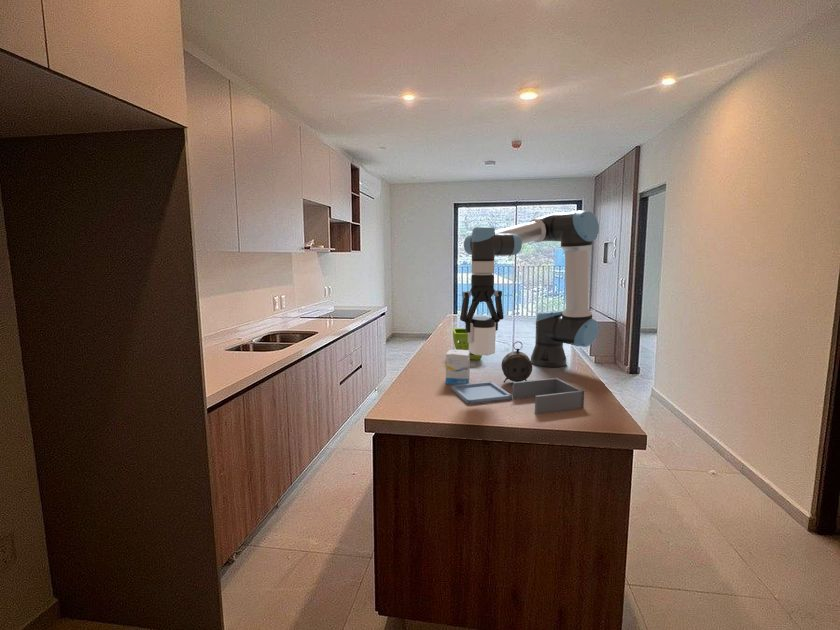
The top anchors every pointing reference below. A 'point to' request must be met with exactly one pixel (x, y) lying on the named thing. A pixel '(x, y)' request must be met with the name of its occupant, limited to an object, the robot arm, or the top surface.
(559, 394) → the wall
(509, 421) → the top surface
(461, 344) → the flower pot
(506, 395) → the tray
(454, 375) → the ink box
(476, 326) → the jar
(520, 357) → the alarm clock
